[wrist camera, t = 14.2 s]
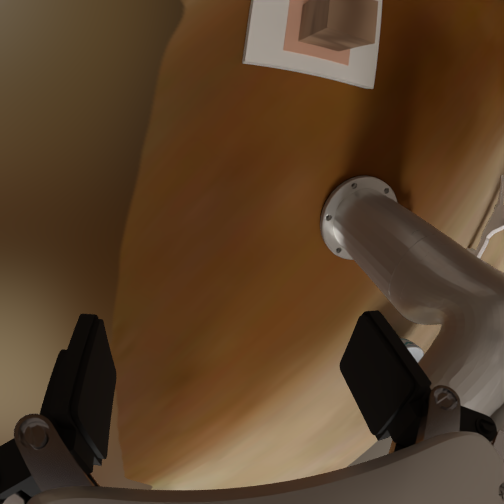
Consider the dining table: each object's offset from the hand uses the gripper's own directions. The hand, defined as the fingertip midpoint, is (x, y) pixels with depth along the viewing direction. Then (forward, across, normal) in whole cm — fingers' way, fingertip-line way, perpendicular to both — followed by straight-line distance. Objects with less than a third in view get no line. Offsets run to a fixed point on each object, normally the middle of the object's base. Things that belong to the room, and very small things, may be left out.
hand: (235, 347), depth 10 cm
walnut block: (+26, -11, -19) cm, 34 cm away
